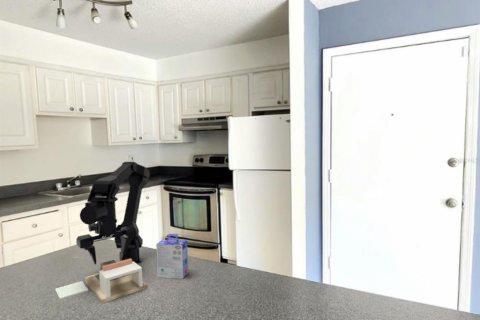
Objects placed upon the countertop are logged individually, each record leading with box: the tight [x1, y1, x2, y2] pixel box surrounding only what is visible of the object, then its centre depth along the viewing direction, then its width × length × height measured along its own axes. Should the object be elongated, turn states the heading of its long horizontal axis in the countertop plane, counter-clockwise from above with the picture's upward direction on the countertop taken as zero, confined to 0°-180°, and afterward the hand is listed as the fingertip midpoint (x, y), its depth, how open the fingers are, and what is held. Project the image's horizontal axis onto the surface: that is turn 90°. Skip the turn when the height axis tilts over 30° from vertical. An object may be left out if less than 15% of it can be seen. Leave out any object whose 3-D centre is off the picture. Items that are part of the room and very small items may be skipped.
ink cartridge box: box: [155, 233, 189, 279], centre depth 109 cm, size 10×6×14 cm, turn 81°
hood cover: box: [98, 258, 144, 298], centre depth 98 cm, size 11×7×7 cm, turn 130°
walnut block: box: [99, 259, 119, 281], centre depth 107 cm, size 4×4×6 cm
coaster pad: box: [54, 280, 89, 300], centre depth 99 cm, size 8×8×1 cm
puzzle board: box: [83, 272, 148, 304], centre depth 103 cm, size 14×20×1 cm
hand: (109, 260), depth 107 cm, fingers open, 9 cm apart
